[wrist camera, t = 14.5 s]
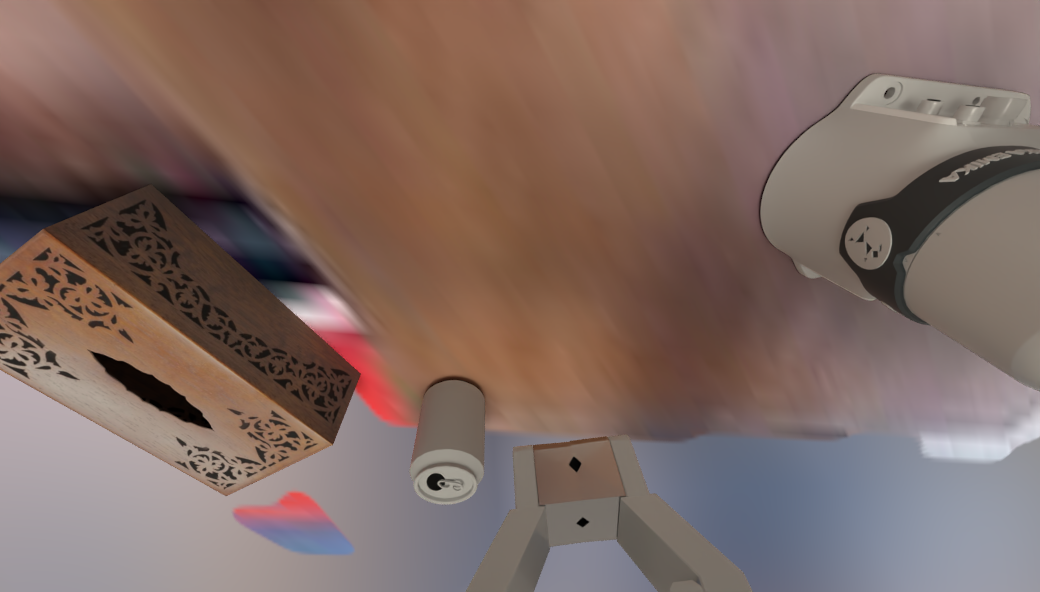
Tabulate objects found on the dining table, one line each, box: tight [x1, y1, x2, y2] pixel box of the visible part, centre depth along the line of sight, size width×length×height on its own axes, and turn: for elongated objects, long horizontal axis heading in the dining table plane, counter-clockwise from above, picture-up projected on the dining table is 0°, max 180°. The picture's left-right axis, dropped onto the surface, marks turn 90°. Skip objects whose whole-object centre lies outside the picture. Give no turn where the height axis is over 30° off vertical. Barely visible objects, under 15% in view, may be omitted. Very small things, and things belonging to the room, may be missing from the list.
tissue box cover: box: [0, 184, 360, 496], centre depth 38 cm, size 26×14×10 cm, turn 30°
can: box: [410, 380, 485, 504], centre depth 45 cm, size 8×8×12 cm
